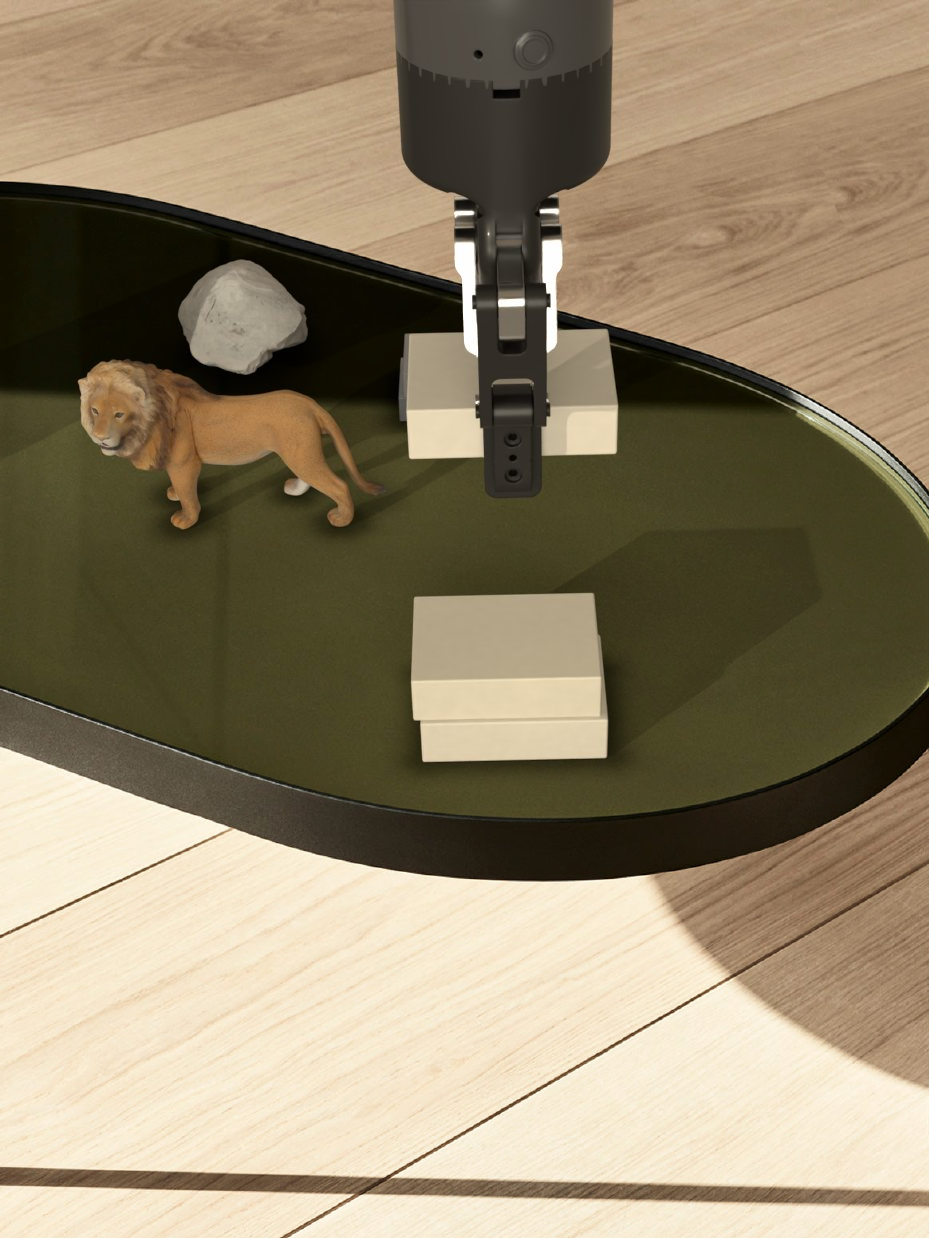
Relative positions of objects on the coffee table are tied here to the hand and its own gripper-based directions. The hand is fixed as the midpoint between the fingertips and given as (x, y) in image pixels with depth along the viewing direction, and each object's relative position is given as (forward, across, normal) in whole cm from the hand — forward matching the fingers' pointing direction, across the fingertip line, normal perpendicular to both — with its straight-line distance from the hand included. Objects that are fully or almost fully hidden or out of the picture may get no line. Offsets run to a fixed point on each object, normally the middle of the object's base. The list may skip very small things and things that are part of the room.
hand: (511, 446), depth 74 cm
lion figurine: (+14, -16, -14) cm, 25 cm away
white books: (+14, +1, 0) cm, 14 cm away
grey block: (+14, -27, -1) cm, 30 cm away
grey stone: (+14, -33, -15) cm, 39 cm away
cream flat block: (-1, 0, 0) cm, 1 cm away
